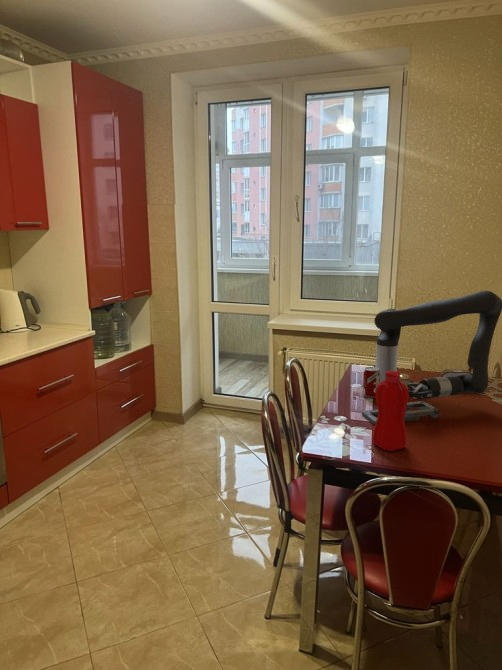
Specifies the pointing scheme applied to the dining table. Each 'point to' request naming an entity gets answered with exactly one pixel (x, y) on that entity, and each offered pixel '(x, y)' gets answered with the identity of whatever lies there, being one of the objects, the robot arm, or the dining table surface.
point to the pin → (404, 379)
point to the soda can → (370, 381)
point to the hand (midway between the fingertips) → (396, 391)
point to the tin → (453, 373)
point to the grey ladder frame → (408, 412)
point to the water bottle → (391, 413)
